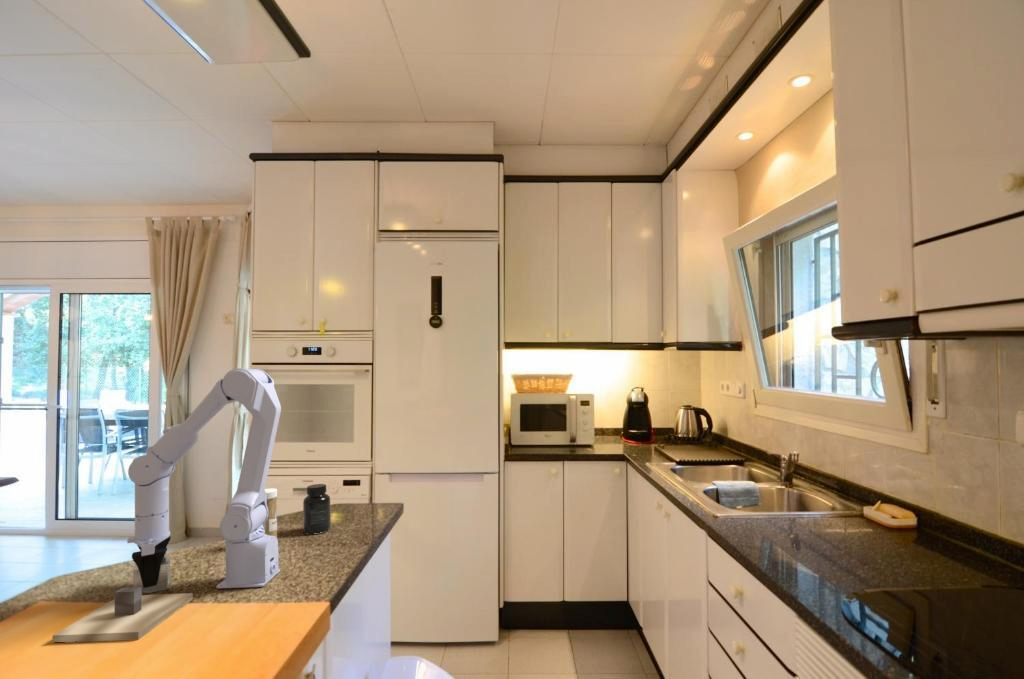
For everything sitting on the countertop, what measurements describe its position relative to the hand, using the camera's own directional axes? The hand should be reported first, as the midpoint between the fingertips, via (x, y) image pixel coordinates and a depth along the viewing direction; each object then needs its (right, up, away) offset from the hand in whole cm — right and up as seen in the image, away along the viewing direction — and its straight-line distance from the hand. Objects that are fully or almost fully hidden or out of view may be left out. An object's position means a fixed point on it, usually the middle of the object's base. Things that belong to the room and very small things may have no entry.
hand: (152, 580), depth 102 cm
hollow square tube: (0, -1, 0) cm, 1 cm away
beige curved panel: (+5, -1, -13) cm, 14 cm away
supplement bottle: (+21, -3, +33) cm, 39 cm away
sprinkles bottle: (+12, -3, +24) cm, 27 cm away
